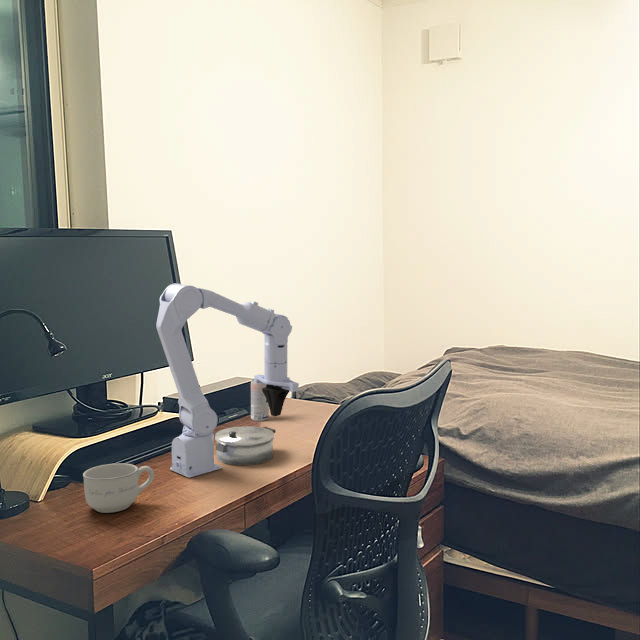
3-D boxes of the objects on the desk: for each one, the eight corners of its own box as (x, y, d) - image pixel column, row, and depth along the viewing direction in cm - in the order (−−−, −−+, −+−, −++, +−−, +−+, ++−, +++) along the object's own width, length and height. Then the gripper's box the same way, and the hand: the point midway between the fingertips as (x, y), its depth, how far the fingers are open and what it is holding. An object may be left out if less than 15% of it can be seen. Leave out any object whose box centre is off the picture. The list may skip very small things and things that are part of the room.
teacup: (82, 520, 135) (81, 480, 134) (85, 500, 145) (83, 463, 144) (156, 513, 139) (155, 474, 138) (153, 494, 149) (152, 457, 148)
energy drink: (270, 417, 213) (270, 378, 212) (267, 421, 208) (266, 382, 207) (252, 416, 214) (252, 378, 212) (249, 421, 209) (249, 381, 207)
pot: (237, 470, 165) (237, 451, 164) (202, 456, 175) (202, 439, 174) (284, 456, 175) (284, 439, 175) (248, 444, 185) (248, 428, 184)
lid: (240, 450, 164) (239, 441, 164) (203, 437, 175) (203, 429, 174) (289, 437, 175) (289, 428, 175) (252, 426, 186) (252, 418, 185)
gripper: (307, 363, 171) (307, 417, 172) (268, 356, 181) (269, 407, 183) (286, 367, 166) (286, 423, 167) (247, 359, 176) (248, 412, 178)
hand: (275, 415), depth 175 cm, fingers closed
